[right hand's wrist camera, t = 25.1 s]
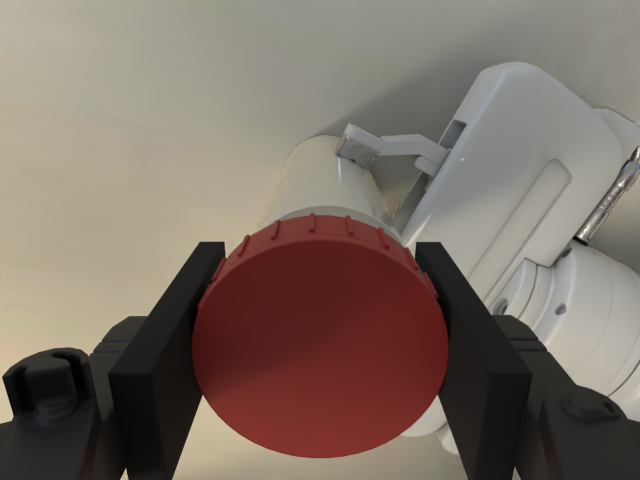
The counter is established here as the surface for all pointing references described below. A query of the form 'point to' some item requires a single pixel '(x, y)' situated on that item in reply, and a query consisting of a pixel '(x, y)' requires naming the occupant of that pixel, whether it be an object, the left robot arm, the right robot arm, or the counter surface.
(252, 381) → the lid
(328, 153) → the jar
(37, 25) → the counter surface
